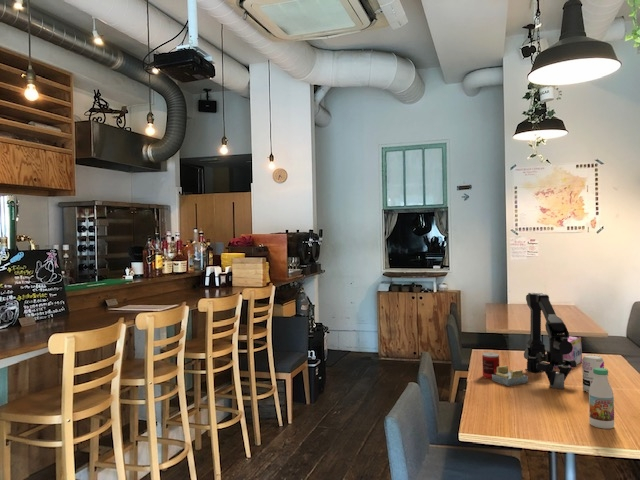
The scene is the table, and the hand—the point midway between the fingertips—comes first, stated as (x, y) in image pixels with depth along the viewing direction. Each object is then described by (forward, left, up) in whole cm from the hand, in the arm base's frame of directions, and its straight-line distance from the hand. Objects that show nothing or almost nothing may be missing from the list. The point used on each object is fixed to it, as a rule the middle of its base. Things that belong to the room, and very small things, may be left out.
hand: (556, 384), depth 223 cm
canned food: (+14, -26, -2) cm, 30 cm away
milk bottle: (+24, +40, -2) cm, 47 cm away
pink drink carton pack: (-37, -26, -2) cm, 45 cm away
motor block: (+12, -16, -1) cm, 20 cm away
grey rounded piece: (0, 0, -1) cm, 1 cm away
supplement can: (-8, +12, -2) cm, 14 cm away
